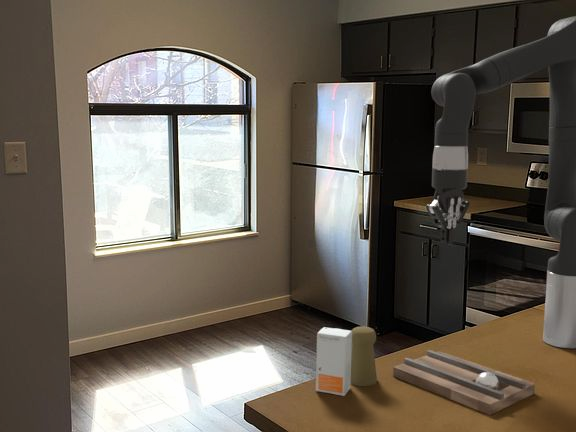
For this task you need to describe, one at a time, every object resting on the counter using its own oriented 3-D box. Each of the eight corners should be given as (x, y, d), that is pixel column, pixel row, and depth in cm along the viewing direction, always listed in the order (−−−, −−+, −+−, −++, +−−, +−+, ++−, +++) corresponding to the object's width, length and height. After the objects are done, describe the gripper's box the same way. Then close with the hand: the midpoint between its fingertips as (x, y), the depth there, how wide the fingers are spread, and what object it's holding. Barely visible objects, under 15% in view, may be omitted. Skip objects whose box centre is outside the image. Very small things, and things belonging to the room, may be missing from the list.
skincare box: (315, 391, 127) (315, 332, 125) (322, 383, 131) (323, 326, 129) (345, 397, 125) (346, 336, 123) (351, 388, 129) (352, 330, 127)
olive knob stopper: (376, 387, 129) (377, 333, 128) (345, 384, 130) (346, 331, 129) (378, 375, 135) (379, 324, 134) (349, 373, 136) (350, 322, 135)
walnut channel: (438, 359, 144) (439, 346, 144) (534, 393, 127) (535, 378, 126) (392, 376, 135) (393, 362, 135) (489, 415, 117) (490, 399, 117)
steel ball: (507, 388, 125) (490, 396, 128) (496, 366, 127) (480, 375, 130) (494, 392, 122) (477, 400, 125) (483, 370, 124) (467, 378, 127)
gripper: (454, 164, 150) (451, 238, 152) (416, 167, 142) (414, 245, 144) (482, 166, 144) (478, 243, 147) (445, 169, 136) (441, 250, 138)
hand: (446, 244), depth 145 cm, fingers closed
